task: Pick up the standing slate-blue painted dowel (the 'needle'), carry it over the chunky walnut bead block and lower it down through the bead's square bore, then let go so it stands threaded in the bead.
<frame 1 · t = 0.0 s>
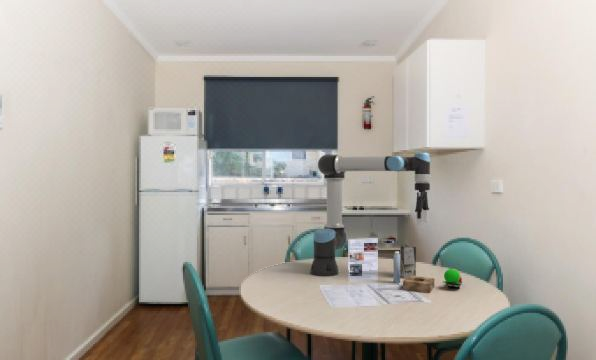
hand: (422, 223, 218), 28 cm above the table, fingers open, 13 cm apart
needle dowel: (396, 282, 209), on the table
toy: (453, 287, 200), on the table
bead block: (418, 288, 198), on the table
coffee box: (407, 276, 221), on the table
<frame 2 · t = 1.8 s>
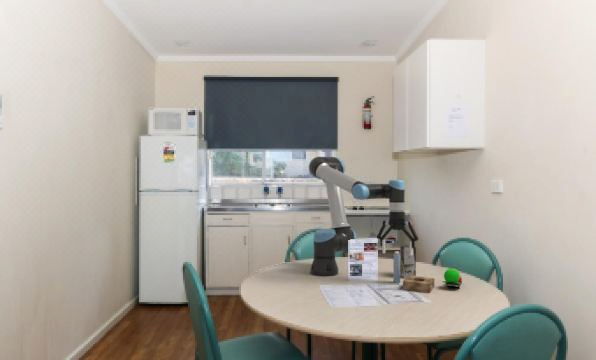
hand: (397, 254, 208), 14 cm above the table, fingers open, 13 cm apart
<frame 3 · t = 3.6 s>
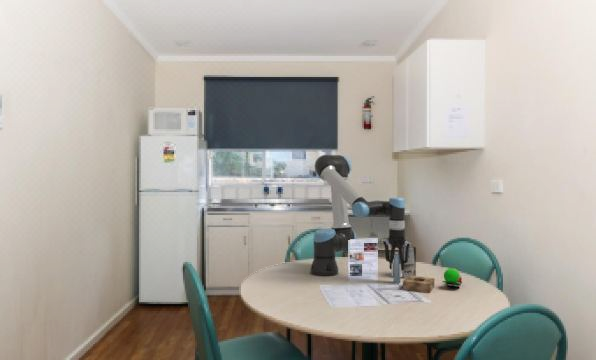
hand: (396, 276, 209), 3 cm above the table, fingers closed on needle dowel, 3 cm apart
needle dowel: (396, 282, 209), on the table, touching gripper
everything else where it was.
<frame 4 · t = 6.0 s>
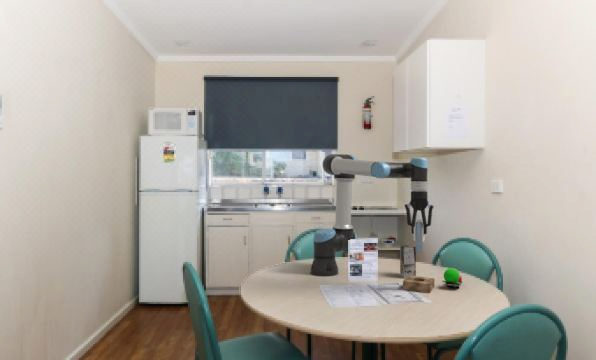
hand: (419, 240, 198), 22 cm above the table, fingers closed on needle dowel, 3 cm apart
needle dowel: (419, 252, 198), point 17 cm above the table, touching gripper
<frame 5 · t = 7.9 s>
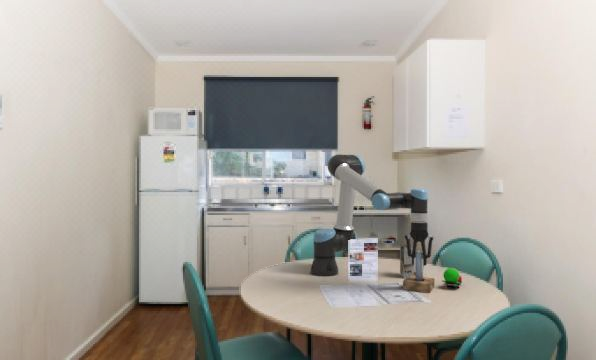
hand: (419, 271, 198), 8 cm above the table, fingers closed on needle dowel, 3 cm apart
needle dowel: (419, 282, 198), point 3 cm above the table, touching gripper
when the fingers open (5 cm above the table, at t = 8.6 s): needle dowel stays where it is, resting in bead block.
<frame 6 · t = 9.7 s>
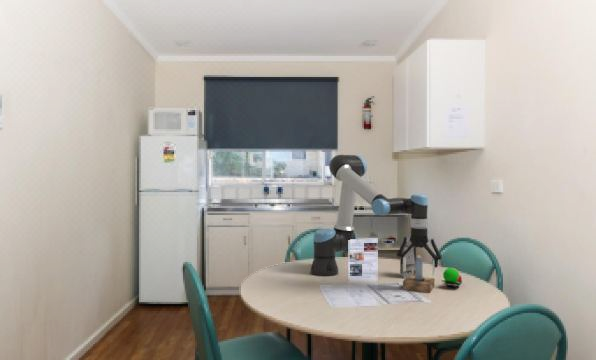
hand: (418, 272, 198), 7 cm above the table, fingers open, 13 cm apart
needle dowel: (418, 288, 198), resting in bead block
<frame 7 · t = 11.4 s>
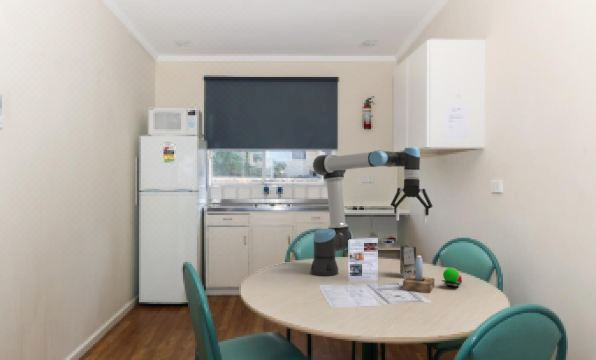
hand: (411, 221, 210), 30 cm above the table, fingers open, 13 cm apart
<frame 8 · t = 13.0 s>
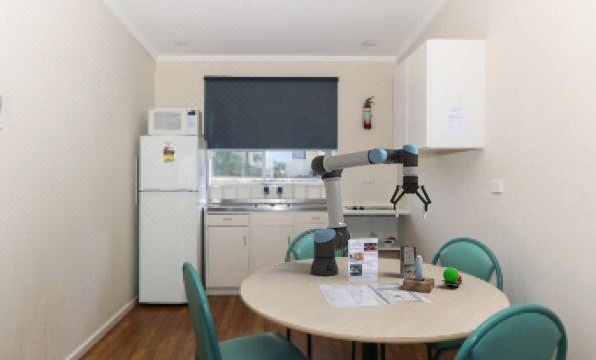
hand: (410, 217, 212), 32 cm above the table, fingers open, 13 cm apart
at the end: needle dowel 0.0 cm off-centre on the bead block, point 0.0 cm above the bead block's base; needle dowel tilted 0°; the gripper is holding nothing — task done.
